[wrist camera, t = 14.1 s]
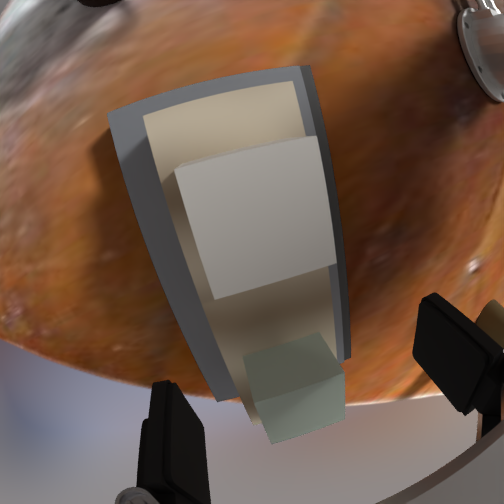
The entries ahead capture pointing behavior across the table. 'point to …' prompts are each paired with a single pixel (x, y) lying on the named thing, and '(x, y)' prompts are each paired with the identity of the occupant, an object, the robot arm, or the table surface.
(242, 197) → the white cube
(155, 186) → the dock
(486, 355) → the robot arm
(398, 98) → the table surface
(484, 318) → the pepper shaker
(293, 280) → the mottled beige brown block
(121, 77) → the table surface
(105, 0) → the coffee mug
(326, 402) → the block
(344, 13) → the table surface
